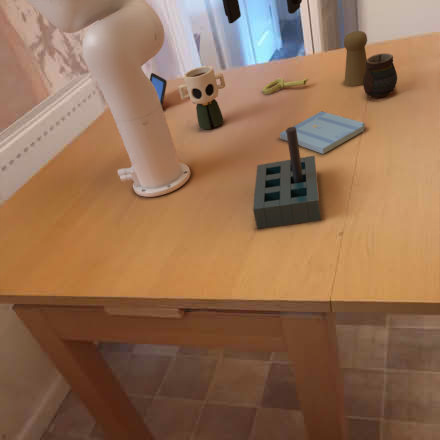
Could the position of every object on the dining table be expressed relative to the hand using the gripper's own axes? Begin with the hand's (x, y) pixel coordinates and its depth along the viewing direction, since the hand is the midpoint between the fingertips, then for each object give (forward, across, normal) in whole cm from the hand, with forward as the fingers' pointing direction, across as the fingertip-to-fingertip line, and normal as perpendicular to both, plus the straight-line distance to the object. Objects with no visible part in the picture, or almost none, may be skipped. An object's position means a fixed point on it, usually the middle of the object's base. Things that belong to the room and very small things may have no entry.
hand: (263, 15), depth 70 cm
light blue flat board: (+28, 0, +19) cm, 34 cm away
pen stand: (+28, +2, -6) cm, 29 cm away
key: (+28, -19, +45) cm, 57 cm away
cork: (+28, 0, +47) cm, 55 cm away
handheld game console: (+28, -57, +37) cm, 74 cm away
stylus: (+28, +4, -5) cm, 29 cm away
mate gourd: (+29, +8, +38) cm, 48 cm away
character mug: (+28, -30, +25) cm, 48 cm away
